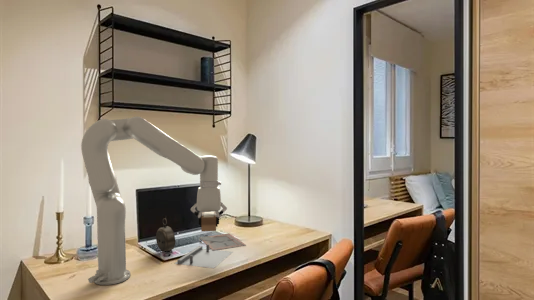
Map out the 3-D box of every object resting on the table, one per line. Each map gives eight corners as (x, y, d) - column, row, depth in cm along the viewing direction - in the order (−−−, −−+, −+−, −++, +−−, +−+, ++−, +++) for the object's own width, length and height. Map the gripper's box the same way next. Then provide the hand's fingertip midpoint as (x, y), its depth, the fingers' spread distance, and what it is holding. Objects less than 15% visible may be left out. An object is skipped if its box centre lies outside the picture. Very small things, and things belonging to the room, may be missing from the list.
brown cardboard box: (216, 230, 139) (216, 217, 139) (201, 231, 138) (201, 217, 138) (215, 223, 151) (215, 211, 150) (202, 224, 150) (202, 211, 149)
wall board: (214, 271, 133) (213, 260, 133) (174, 266, 138) (174, 256, 138) (233, 254, 152) (233, 245, 152) (197, 250, 158) (197, 241, 157)
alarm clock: (176, 254, 153) (175, 219, 152) (165, 257, 149) (164, 221, 148) (164, 248, 160) (164, 215, 160) (153, 251, 157) (153, 217, 156)
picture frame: (199, 242, 173) (212, 255, 154) (199, 237, 173) (212, 249, 154) (229, 237, 181) (245, 249, 162) (229, 232, 181) (245, 244, 161)
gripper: (228, 183, 149) (228, 223, 149) (189, 183, 146) (189, 224, 147) (229, 185, 141) (229, 227, 142) (187, 186, 139) (187, 229, 139)
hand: (208, 225), depth 144 cm, fingers closed on brown cardboard box, 6 cm apart
